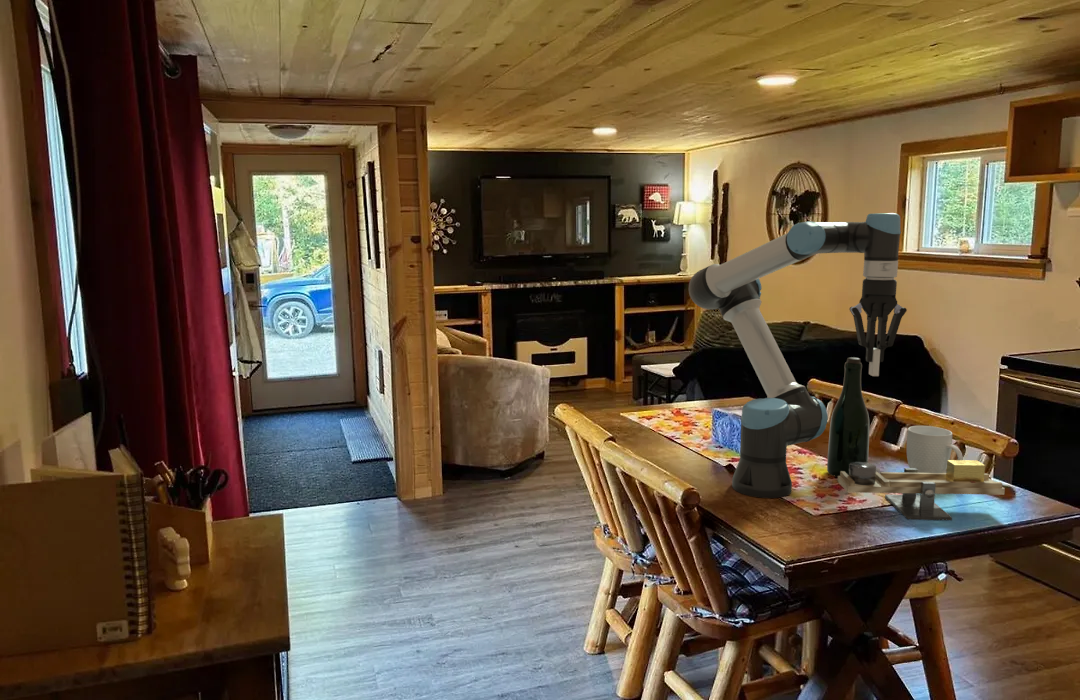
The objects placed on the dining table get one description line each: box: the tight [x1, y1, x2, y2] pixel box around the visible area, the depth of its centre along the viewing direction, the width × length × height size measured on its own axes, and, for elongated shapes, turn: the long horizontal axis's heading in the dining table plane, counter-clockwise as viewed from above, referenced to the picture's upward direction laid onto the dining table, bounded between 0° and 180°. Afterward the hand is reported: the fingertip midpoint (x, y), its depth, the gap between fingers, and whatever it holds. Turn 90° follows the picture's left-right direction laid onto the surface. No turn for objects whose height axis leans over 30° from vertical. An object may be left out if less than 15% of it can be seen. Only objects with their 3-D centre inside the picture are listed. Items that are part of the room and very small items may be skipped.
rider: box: [946, 459, 986, 482], centre depth 187 cm, size 7×4×5 cm, turn 85°
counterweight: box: [849, 462, 877, 485], centre depth 189 cm, size 6×6×4 cm
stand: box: [884, 467, 953, 522], centre depth 189 cm, size 10×15×8 cm, turn 175°
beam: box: [837, 471, 1006, 496], centre depth 188 cm, size 36×8×3 cm, turn 85°
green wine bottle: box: [826, 356, 870, 478], centre depth 213 cm, size 10×10×33 cm
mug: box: [906, 425, 964, 473], centre depth 211 cm, size 15×11×13 cm
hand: (873, 374), depth 189 cm, fingers closed
